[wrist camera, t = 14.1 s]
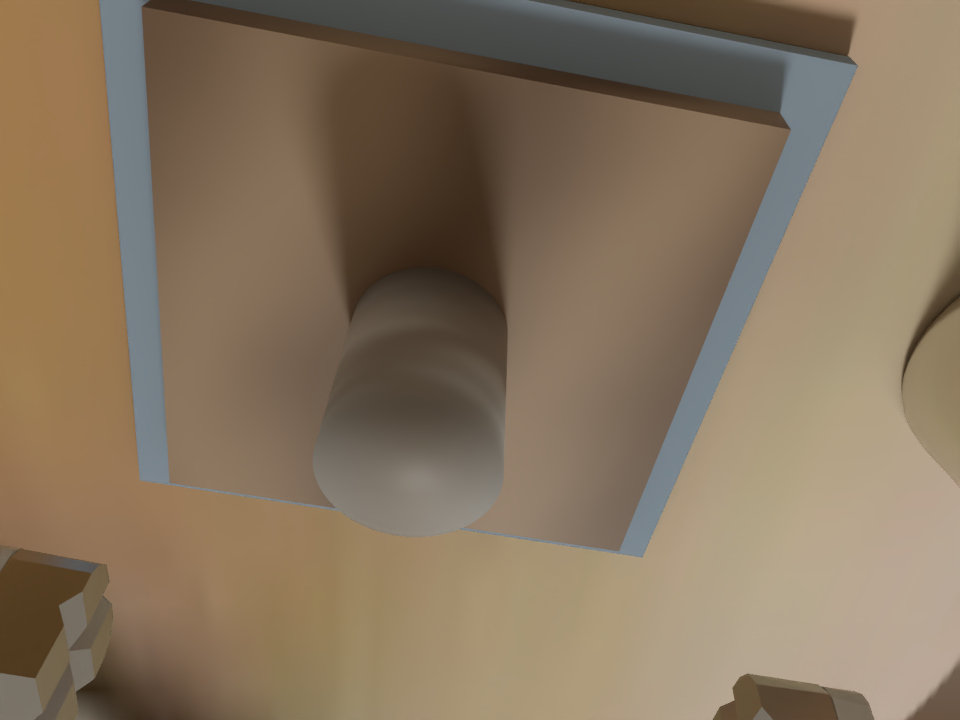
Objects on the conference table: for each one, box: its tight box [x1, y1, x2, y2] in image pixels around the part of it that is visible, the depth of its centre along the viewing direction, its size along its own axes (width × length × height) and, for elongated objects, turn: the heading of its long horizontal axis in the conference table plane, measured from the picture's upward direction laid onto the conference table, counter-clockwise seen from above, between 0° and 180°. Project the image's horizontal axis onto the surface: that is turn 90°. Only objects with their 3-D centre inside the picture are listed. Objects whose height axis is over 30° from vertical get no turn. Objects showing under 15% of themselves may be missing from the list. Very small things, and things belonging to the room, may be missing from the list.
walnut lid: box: [142, 0, 791, 551], centre depth 16 cm, size 11×11×5 cm
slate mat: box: [99, 0, 858, 557], centre depth 18 cm, size 13×13×1 cm
